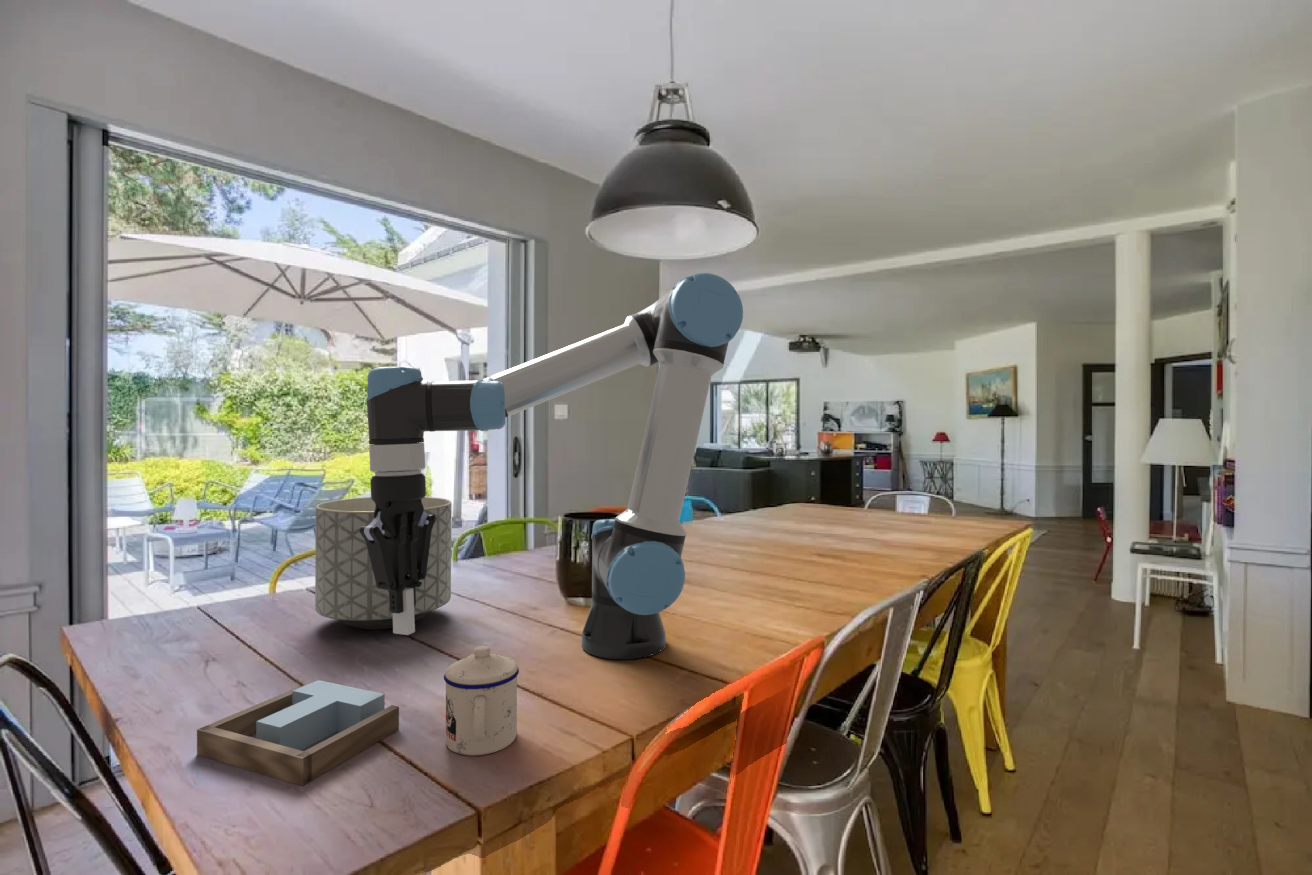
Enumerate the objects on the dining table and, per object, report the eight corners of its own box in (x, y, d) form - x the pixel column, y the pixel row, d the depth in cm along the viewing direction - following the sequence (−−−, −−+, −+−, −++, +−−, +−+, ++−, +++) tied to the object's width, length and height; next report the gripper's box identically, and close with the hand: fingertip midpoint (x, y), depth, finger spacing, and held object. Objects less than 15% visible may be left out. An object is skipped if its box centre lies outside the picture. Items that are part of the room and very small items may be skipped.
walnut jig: (398, 729, 83) (399, 706, 83) (302, 785, 70) (302, 758, 70) (302, 706, 90) (302, 685, 90) (196, 754, 77) (196, 729, 77)
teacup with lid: (447, 726, 84) (447, 638, 84) (518, 720, 86) (518, 634, 86) (436, 774, 73) (437, 672, 73) (519, 766, 75) (519, 666, 75)
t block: (384, 723, 85) (384, 693, 85) (304, 768, 74) (304, 733, 74) (318, 708, 90) (318, 679, 90) (233, 747, 78) (233, 715, 78)
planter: (312, 650, 113) (312, 514, 112) (317, 611, 135) (318, 498, 135) (459, 631, 124) (460, 507, 123) (441, 599, 146) (442, 494, 146)
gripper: (409, 469, 102) (415, 617, 102) (342, 477, 90) (349, 644, 90) (448, 469, 99) (453, 621, 100) (384, 477, 87) (390, 650, 87)
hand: (404, 632), depth 95 cm, fingers closed
